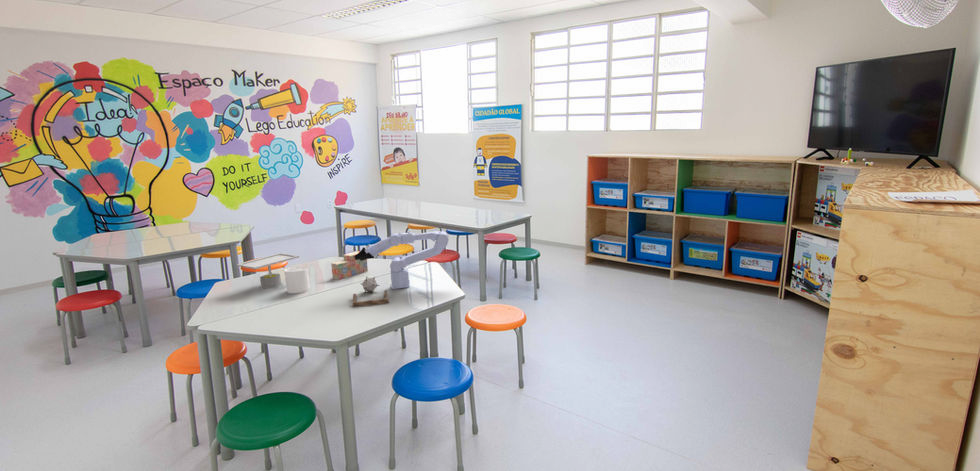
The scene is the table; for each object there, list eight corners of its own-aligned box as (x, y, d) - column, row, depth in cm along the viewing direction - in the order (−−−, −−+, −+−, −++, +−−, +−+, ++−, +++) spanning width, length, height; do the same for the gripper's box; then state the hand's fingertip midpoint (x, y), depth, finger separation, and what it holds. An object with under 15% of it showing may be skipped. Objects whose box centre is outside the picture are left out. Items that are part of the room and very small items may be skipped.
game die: (374, 297, 266) (384, 282, 265) (365, 297, 258) (376, 281, 257) (363, 287, 269) (373, 272, 268) (354, 286, 261) (364, 271, 260)
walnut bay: (387, 293, 259) (387, 290, 259) (388, 302, 246) (388, 299, 245) (353, 297, 255) (353, 293, 255) (353, 306, 242) (352, 303, 241)
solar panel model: (258, 294, 266) (255, 267, 263) (239, 290, 275) (236, 264, 272) (302, 280, 289) (299, 255, 286) (283, 277, 298) (280, 252, 295)
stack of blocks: (339, 280, 288) (337, 259, 286) (332, 278, 292) (330, 258, 289) (368, 271, 305) (366, 251, 302) (361, 269, 309) (359, 250, 306)
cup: (295, 286, 278) (292, 265, 276) (314, 287, 276) (311, 266, 273) (282, 293, 267) (279, 271, 265) (302, 294, 265) (299, 272, 262)
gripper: (380, 241, 274) (358, 252, 274) (372, 239, 259) (349, 251, 259) (386, 253, 273) (364, 264, 273) (378, 251, 258) (355, 263, 258)
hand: (357, 258), depth 266 cm, fingers open, 7 cm apart
